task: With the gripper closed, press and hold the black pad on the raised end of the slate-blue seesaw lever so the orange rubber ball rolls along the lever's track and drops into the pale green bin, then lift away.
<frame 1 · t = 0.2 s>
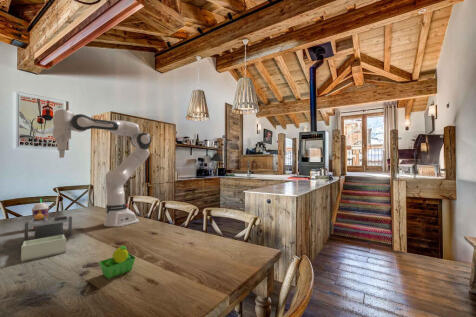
hand: (61, 157, 134), 47 cm above the table, tool pointing down, fingers open, 8 cm apart
bin: (44, 252, 106), on the table
fruit basket: (118, 273, 87), on the table
seesaw lever: (49, 219, 124), point 11 cm above the table, hinge at 8.0°, touching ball
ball: (39, 217, 130), point 11 cm above the table, touching seesaw lever
smoothie: (40, 229, 142), on the table
fulcrum stand: (49, 238, 124), on the table
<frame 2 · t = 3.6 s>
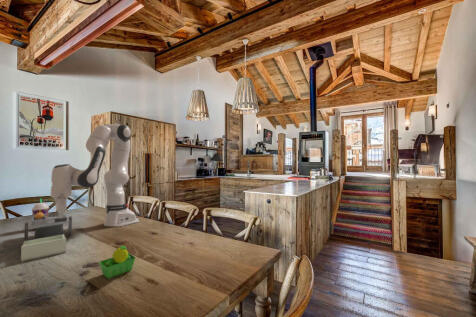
hand: (60, 218, 120), 13 cm above the table, tool pointing down, fingers closed, pressing on seesaw lever
seesaw lever: (49, 219, 124), point 11 cm above the table, hinge at 4.4°, touching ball, gripper
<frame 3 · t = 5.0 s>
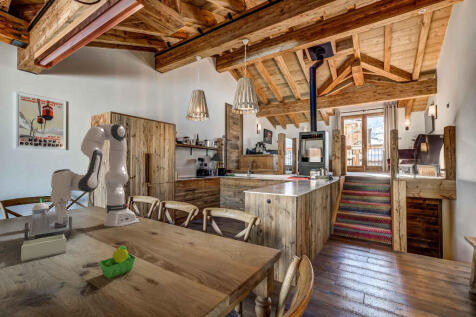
hand: (60, 223, 119), 10 cm above the table, tool pointing down, fingers closed
seesaw lever: (49, 219, 124), point 11 cm above the table, hinge at -11.0°, touching gripper
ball: (37, 250, 101), point 3 cm above the table, tilted 118°, touching bin
everything else where it was.
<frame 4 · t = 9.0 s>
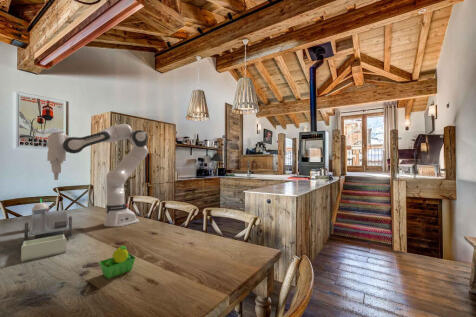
hand: (56, 179, 136), 33 cm above the table, tool pointing down, fingers closed
seesaw lever: (49, 219, 124), point 11 cm above the table, hinge at -10.5°
everything else where it was.
at the end: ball inside the target area on the bin (5.2 cm from its centre), point 2.8 cm above the bin's base; seesaw lever at -10° (first picture: +8°) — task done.
